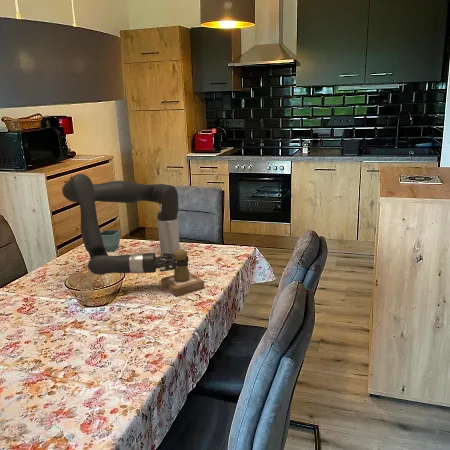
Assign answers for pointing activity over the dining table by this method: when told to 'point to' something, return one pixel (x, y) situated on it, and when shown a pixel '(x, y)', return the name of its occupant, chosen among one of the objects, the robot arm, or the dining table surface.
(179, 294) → the dock board
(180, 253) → the brown wooden pawn
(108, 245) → the flower pot
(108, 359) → the dining table surface
